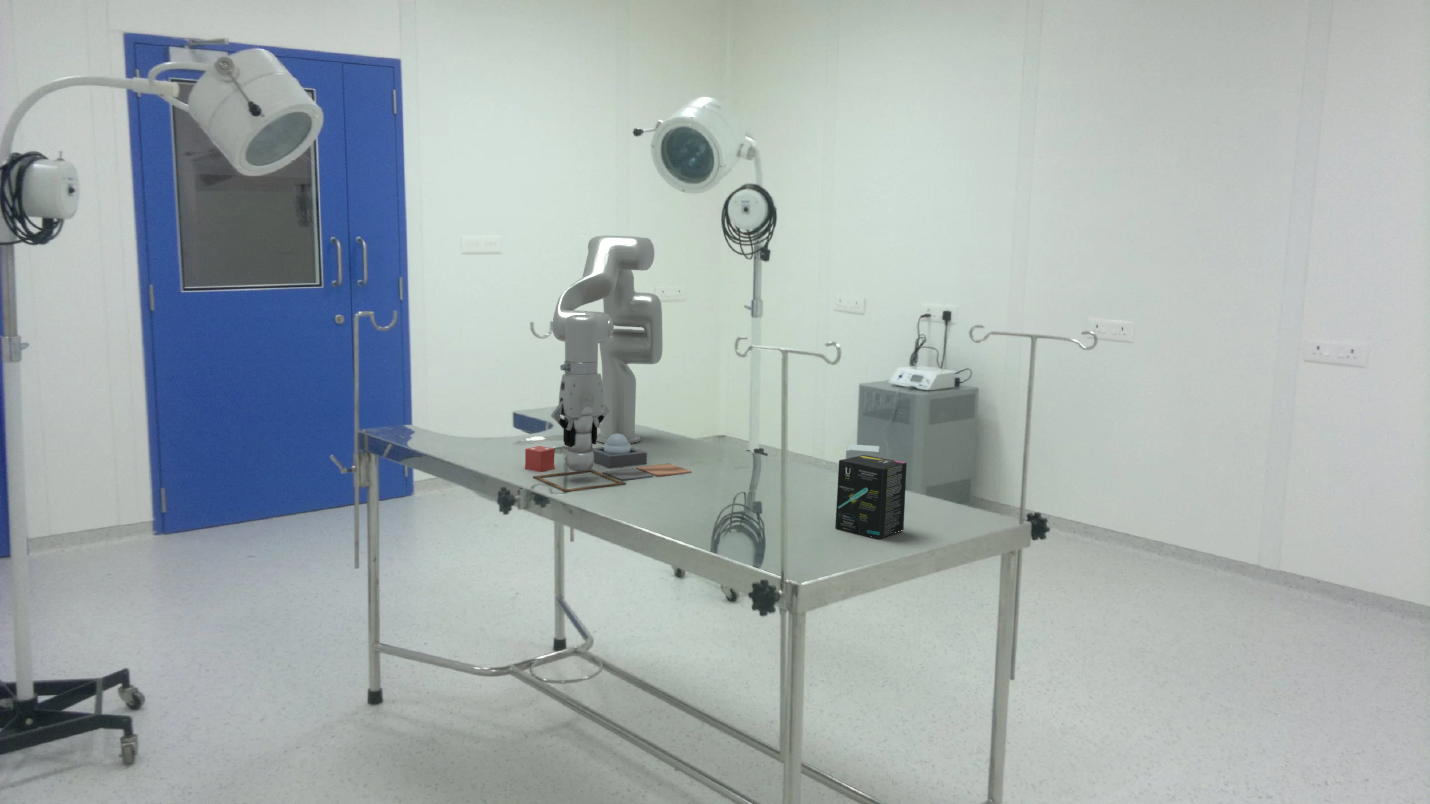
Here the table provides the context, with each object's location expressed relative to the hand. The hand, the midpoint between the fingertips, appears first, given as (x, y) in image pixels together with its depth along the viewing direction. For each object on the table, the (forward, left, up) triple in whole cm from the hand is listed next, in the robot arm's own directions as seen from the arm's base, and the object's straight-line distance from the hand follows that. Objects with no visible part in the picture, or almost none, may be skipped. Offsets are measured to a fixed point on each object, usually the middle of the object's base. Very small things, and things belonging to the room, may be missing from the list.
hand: (580, 443), depth 250 cm
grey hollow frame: (-14, +19, -9) cm, 25 cm away
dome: (-14, +19, -7) cm, 24 cm away
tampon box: (+65, +31, -9) cm, 73 cm away
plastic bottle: (0, 0, -7) cm, 7 cm away
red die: (-16, -2, -9) cm, 18 cm away
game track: (0, +10, -9) cm, 13 cm away
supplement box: (+47, +46, -9) cm, 66 cm away
